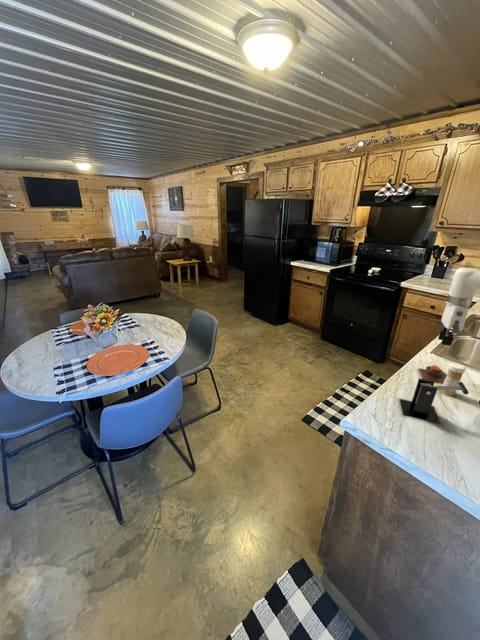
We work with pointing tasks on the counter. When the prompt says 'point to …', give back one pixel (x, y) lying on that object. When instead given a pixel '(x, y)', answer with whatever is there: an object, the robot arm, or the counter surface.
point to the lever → (450, 387)
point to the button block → (432, 375)
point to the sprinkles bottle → (453, 377)
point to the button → (435, 369)
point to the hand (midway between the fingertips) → (444, 341)
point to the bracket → (421, 403)
